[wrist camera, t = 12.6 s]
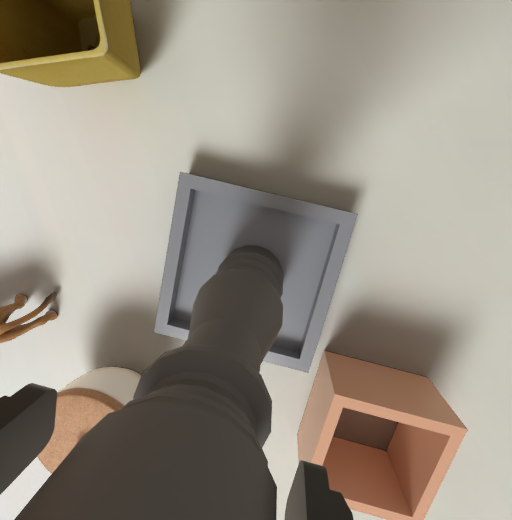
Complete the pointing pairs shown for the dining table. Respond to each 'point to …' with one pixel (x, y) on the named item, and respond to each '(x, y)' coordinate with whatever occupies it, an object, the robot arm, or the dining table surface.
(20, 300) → the lion figurine
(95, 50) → the flower pot
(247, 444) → the candle holder
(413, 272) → the dining table surface
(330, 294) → the tray
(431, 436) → the square copper bin
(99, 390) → the lidded jar
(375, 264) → the dining table surface
